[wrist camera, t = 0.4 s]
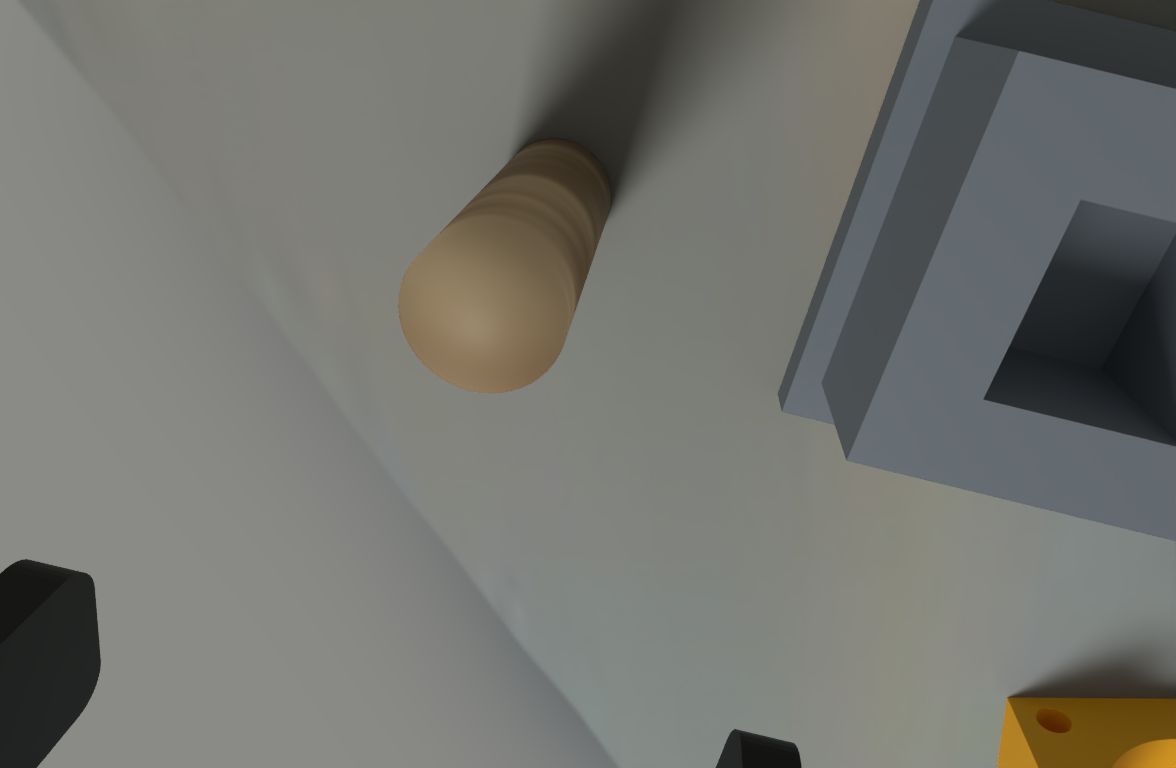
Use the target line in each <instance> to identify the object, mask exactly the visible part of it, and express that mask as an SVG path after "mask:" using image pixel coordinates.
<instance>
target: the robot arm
mask: <svg viewBox="0 0 1176 768" xmlns="http://www.w3.org/2000/svg"><path fill="white" fill-rule="evenodd" d="M100 666H101V659H100V647H99V635H98V622H97V610H96V598H95V587H94V582H93V579H92V578H91V576H90V575H88V574H87V573H83V572H79V571H74V570H70V569H66V568H62V567H57V566H53V565H49V564H45V563H40V562H36V561H32V560H27V559H25V560H20V561H17V562H15V563H14V564H12V565H10V566H9V567H8V568H6V569H5V570H4V571H3V572H2V573H1V574H0V768H37V767H38V765H39V764H40V763H41V762H42V761H43V759H44V758H45V757H46V756H47V754H48V753H49V752H50V751H51V750H52V748H53V747H54V746H55V745H56V743H57V742H58V741H59V740H60V739H61V738H62V736H63V735H64V734H65V733H66V731H67V730H68V729H69V728H70V726H71V725H72V724H73V723H74V722H75V720H76V719H77V718H78V717H79V716H80V714H81V713H82V712H83V710H84V708H85V707H86V705H87V704H88V702H89V700H90V698H91V696H92V694H93V692H94V689H95V686H96V684H97V681H98V677H99V673H100ZM716 768H802V767H801V760H800V755H799V751H798V748H797V746H796V745H795V744H794V743H791V742H787V741H783V740H779V739H774V738H770V737H766V736H762V735H758V734H753V733H749V732H745V731H741V730H736V729H734V730H733V731H732V732H731V733H730V735H729V737H728V739H727V741H726V744H725V746H724V749H723V751H722V754H721V756H720V759H719V761H718V764H717V766H716Z"/></svg>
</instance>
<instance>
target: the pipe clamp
mask: <svg viewBox="0 0 1176 768" xmlns="http://www.w3.org/2000/svg"><path fill="white" fill-rule="evenodd" d="M997 766H998V768H1176V699H1158V698H1007V702H1006V709H1005V716H1004V723H1003V730H1002V737H1001V743H1000V750H999V757H998V764H997Z"/></svg>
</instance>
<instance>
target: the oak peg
mask: <svg viewBox="0 0 1176 768" xmlns="http://www.w3.org/2000/svg"><path fill="white" fill-rule="evenodd" d="M610 204H611V189H610V184H609V180H608V177H607V174H606V172H605V170H604V168H603V166H602V165H601V164H600V162H599V161H598V160H597V158H596V157H595V156H594V155H593V154H592V153H590V152H589V151H588V150H587V149H585V148H584V147H582V146H580V145H578V144H576V143H574V142H570V141H567V140H562V139H545V140H541V141H537V142H535V143H532V144H530V145H528V146H526V147H525V148H523V149H522V150H521V151H519V152H518V153H517V154H516V155H515V156H514V157H513V158H512V159H511V160H510V161H509V162H508V164H507V165H506V166H505V167H504V168H503V169H502V170H501V171H500V172H499V173H498V174H497V175H496V176H495V177H494V178H493V179H492V180H491V181H490V182H489V183H488V184H487V185H486V186H485V187H484V188H483V189H482V190H481V191H480V192H479V193H478V194H477V195H476V196H475V197H474V198H473V199H472V200H471V201H470V203H469V204H468V205H467V206H466V207H465V208H464V209H463V210H462V211H461V212H460V213H459V214H458V215H457V216H456V217H455V218H454V219H453V220H452V221H451V222H450V223H449V224H448V225H447V226H446V227H445V228H444V229H443V230H442V231H441V232H440V233H439V234H438V235H437V236H436V237H435V238H434V239H433V240H432V242H431V243H430V244H429V245H428V246H427V247H426V248H425V249H424V250H423V251H422V252H421V253H420V254H419V255H418V256H417V257H416V258H415V259H414V261H413V262H412V263H411V265H410V266H409V268H408V270H407V272H406V273H405V275H404V278H403V281H402V284H401V287H400V293H399V303H398V308H399V318H400V322H401V327H402V330H403V332H404V335H405V338H406V340H407V342H408V344H409V346H410V347H411V349H412V350H413V352H414V353H415V355H416V356H417V357H418V358H419V360H420V361H421V362H422V363H423V364H424V365H425V366H426V367H427V368H428V369H429V370H430V371H431V372H433V373H434V374H436V375H437V376H438V377H440V378H441V379H443V380H445V381H446V382H448V383H450V384H452V385H455V386H457V387H459V388H463V389H466V390H469V391H474V392H480V393H503V392H508V391H513V390H516V389H519V388H522V387H524V386H526V385H528V384H531V383H532V382H534V381H535V380H537V379H538V378H540V377H541V376H542V375H543V374H544V373H546V372H547V371H548V369H549V368H550V367H551V366H552V365H553V364H554V362H555V361H556V359H557V358H558V356H559V354H560V352H561V350H562V348H563V345H564V342H565V339H566V336H567V334H568V331H569V328H570V325H571V322H572V319H573V316H574V313H575V310H576V307H577V304H578V301H579V298H580V295H581V292H582V290H583V287H584V284H585V281H586V278H587V275H588V272H589V269H590V266H591V263H592V260H593V257H594V254H595V251H596V249H597V246H598V243H599V240H600V237H601V234H602V231H603V228H604V225H605V222H606V219H607V216H608V213H609V210H610Z"/></svg>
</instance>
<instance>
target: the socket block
mask: <svg viewBox="0 0 1176 768" xmlns="http://www.w3.org/2000/svg"><path fill="white" fill-rule="evenodd" d="M778 396H779V401H780V406H781V410H782V412H785V413H789V414H793V415H797V416H801V417H805V418H810V419H814V420H818V421H822V422H826V423H830V424H834V425H835V427H836V430H837V433H838V436H839V439H840V442H841V445H842V448H843V451H844V454H845V457H846V460H847V461H850V462H854V463H858V464H862V465H866V466H871V467H875V468H879V469H883V470H887V471H891V472H895V473H899V474H903V475H907V476H912V477H916V478H920V479H924V480H928V481H932V482H936V483H940V484H944V485H948V486H952V487H957V488H961V489H965V490H969V491H973V492H977V493H981V494H985V495H989V496H993V497H998V498H1002V499H1006V500H1010V501H1014V502H1018V503H1022V504H1026V505H1030V506H1034V507H1039V508H1043V509H1047V510H1051V511H1055V512H1059V513H1063V514H1067V515H1071V516H1075V517H1079V518H1084V519H1088V520H1092V521H1096V522H1100V523H1104V524H1108V525H1112V526H1116V527H1120V528H1125V529H1129V530H1133V531H1137V532H1141V533H1145V534H1149V535H1153V536H1157V537H1161V538H1165V539H1170V540H1174V541H1176V31H1173V30H1169V29H1165V28H1160V27H1156V26H1152V25H1148V24H1144V23H1140V22H1136V21H1132V20H1127V19H1123V18H1119V17H1115V16H1111V15H1107V14H1103V13H1099V12H1095V11H1090V10H1086V9H1082V8H1078V7H1074V6H1070V5H1066V4H1062V3H1058V2H1053V1H1049V0H920V2H919V5H918V8H917V10H916V13H915V16H914V19H913V22H912V24H911V27H910V30H909V33H908V35H907V38H906V41H905V44H904V46H903V49H902V52H901V55H900V58H899V60H898V63H897V66H896V69H895V71H894V74H893V77H892V80H891V82H890V85H889V88H888V91H887V94H886V96H885V99H884V102H883V105H882V107H881V110H880V113H879V116H878V118H877V121H876V124H875V127H874V130H873V132H872V135H871V138H870V141H869V143H868V146H867V149H866V152H865V154H864V157H863V160H862V163H861V165H860V168H859V171H858V174H857V177H856V179H855V182H854V185H853V188H852V190H851V193H850V196H849V199H848V201H847V204H846V207H845V210H844V213H843V215H842V218H841V221H840V224H839V226H838V229H837V232H836V235H835V237H834V240H833V243H832V246H831V249H830V251H829V254H828V257H827V260H826V262H825V265H824V268H823V271H822V273H821V276H820V279H819V282H818V285H817V287H816V290H815V293H814V296H813V298H812V301H811V304H810V307H809V309H808V312H807V315H806V318H805V320H804V323H803V326H802V329H801V332H800V334H799V337H798V340H797V343H796V345H795V348H794V351H793V354H792V356H791V359H790V362H789V365H788V368H787V370H786V373H785V376H784V379H783V381H782V384H781V387H780V390H779V392H778Z"/></svg>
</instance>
